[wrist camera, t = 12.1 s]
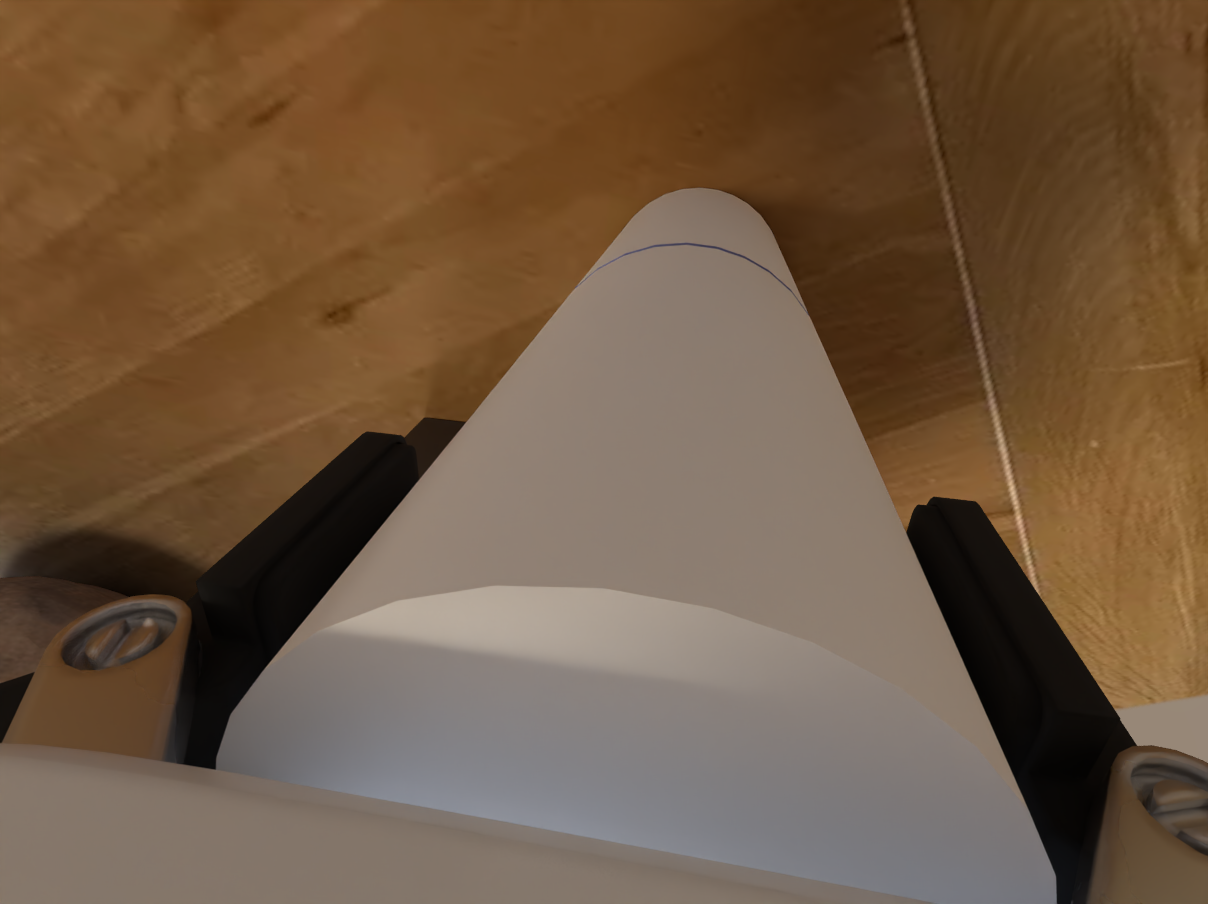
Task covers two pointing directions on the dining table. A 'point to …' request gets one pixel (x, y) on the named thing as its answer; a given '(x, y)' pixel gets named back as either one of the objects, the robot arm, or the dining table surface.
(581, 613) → the cylindrical container
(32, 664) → the ceramic bowl
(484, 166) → the dining table surface
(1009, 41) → the dining table surface
